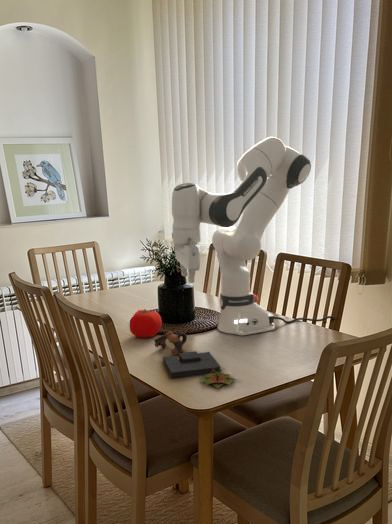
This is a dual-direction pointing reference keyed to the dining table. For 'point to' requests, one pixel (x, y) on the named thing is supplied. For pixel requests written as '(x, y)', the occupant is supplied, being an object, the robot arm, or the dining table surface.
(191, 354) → the pad
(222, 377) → the lily flower
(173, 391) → the dining table surface
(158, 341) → the brown animal figurine
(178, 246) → the robot arm
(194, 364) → the notched mat
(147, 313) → the tomato
